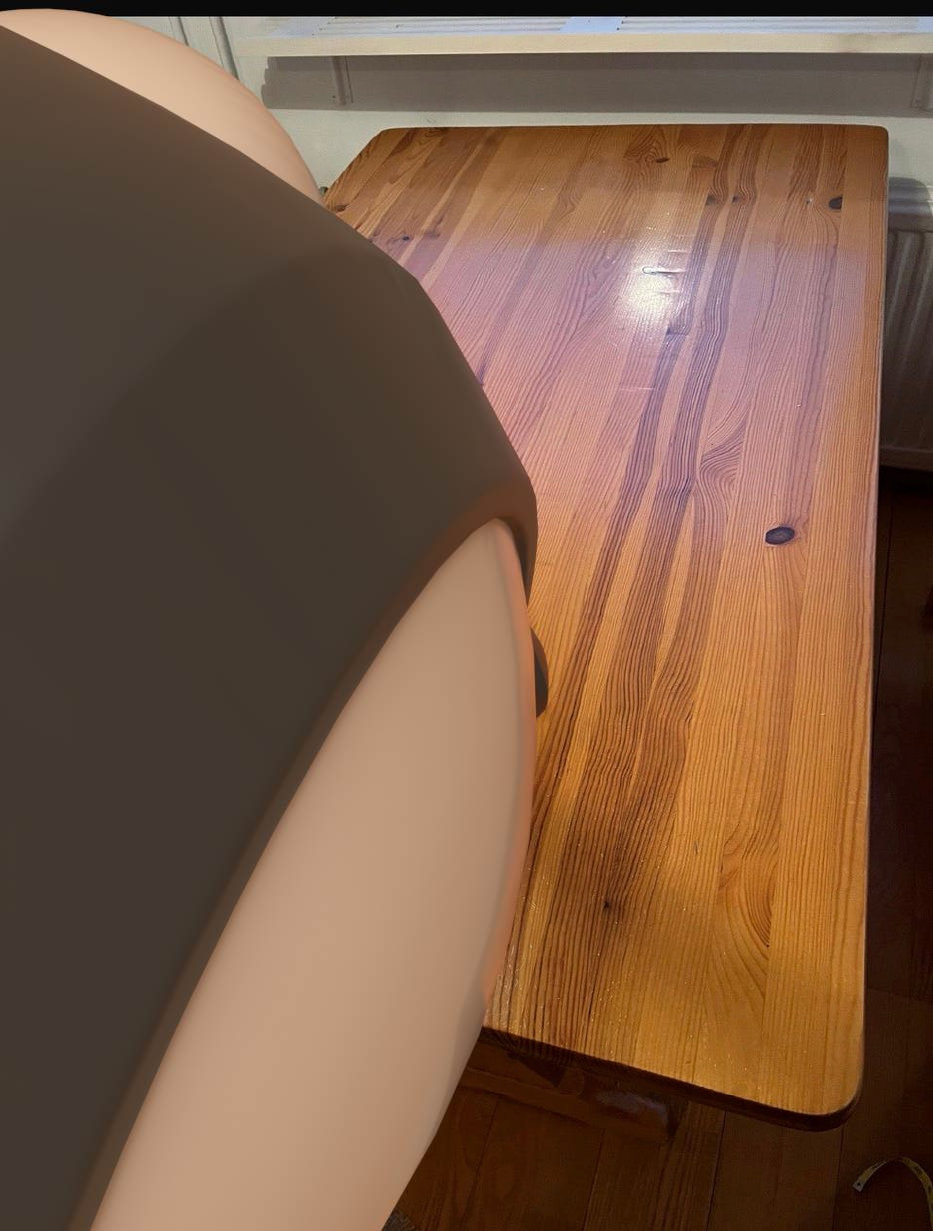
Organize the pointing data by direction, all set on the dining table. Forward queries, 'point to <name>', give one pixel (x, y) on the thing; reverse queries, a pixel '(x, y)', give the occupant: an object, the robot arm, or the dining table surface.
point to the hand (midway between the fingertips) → (168, 659)
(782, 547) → the dining table surface
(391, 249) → the dining table surface
